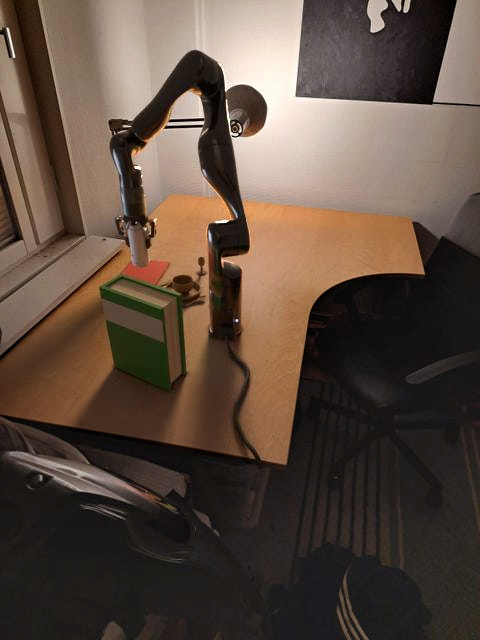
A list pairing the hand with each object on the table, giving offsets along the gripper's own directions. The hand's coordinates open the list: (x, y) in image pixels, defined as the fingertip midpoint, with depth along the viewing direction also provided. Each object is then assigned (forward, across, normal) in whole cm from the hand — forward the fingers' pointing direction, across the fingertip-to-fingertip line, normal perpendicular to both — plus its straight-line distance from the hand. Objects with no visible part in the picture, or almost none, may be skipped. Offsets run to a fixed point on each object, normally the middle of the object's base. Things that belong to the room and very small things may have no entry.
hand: (139, 247), depth 144 cm
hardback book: (+11, +19, -48) cm, 53 cm away
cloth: (+11, 0, 0) cm, 11 cm away
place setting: (+11, +20, -6) cm, 23 cm away
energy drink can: (+7, 0, 0) cm, 7 cm away
